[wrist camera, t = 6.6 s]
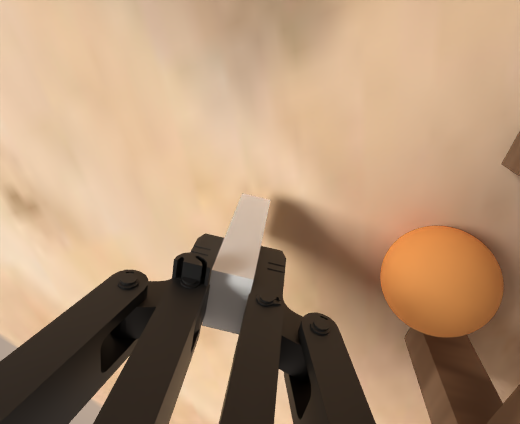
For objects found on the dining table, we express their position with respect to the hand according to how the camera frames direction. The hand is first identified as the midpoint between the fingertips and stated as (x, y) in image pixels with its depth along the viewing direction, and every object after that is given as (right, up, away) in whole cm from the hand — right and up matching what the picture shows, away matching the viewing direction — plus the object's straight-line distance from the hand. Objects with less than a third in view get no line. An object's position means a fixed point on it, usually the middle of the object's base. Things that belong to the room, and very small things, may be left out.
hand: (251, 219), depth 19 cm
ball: (+9, -3, -1) cm, 10 cm away
